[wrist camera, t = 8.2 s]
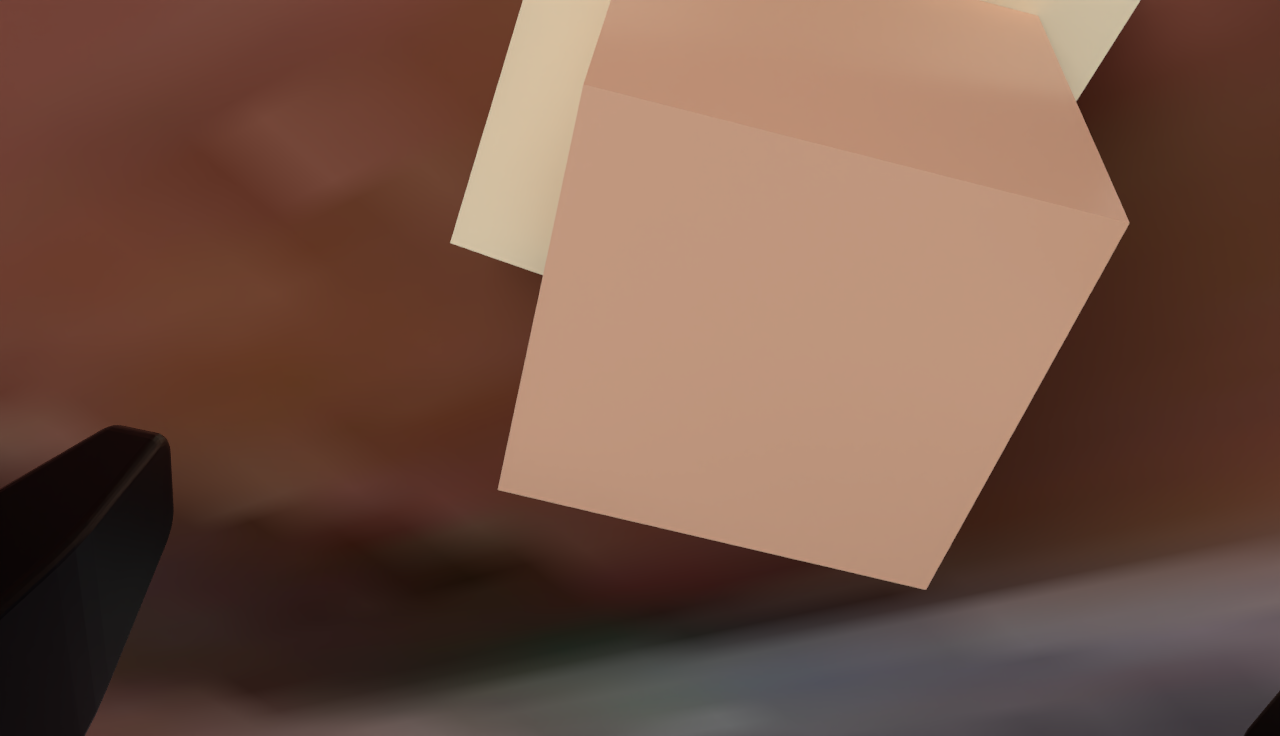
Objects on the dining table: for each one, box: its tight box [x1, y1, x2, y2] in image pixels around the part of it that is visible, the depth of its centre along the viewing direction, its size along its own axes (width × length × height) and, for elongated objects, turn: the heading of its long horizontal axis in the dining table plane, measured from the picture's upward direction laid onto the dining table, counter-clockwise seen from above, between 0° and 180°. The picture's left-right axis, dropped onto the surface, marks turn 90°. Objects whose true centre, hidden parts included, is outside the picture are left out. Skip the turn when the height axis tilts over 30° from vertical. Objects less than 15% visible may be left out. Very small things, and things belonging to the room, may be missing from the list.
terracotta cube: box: [498, 0, 1129, 590], centre depth 14 cm, size 5×5×5 cm
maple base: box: [450, 0, 1140, 275], centre depth 17 cm, size 7×7×4 cm
